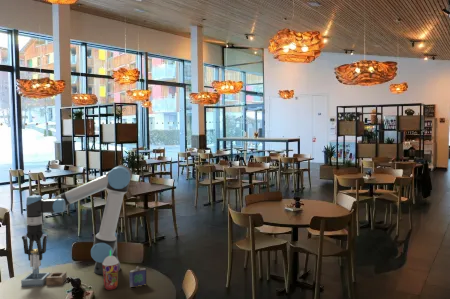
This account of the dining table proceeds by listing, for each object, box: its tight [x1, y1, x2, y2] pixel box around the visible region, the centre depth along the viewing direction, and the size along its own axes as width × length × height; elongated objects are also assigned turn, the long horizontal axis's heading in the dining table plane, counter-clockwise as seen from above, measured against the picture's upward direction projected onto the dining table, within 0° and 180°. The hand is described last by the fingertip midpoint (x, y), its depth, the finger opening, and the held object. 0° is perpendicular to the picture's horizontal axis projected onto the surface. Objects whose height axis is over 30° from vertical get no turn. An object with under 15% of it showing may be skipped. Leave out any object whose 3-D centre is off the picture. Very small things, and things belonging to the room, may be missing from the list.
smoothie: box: [102, 251, 120, 291], centre depth 204 cm, size 8×8×20 cm
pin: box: [30, 248, 40, 278], centre depth 212 cm, size 5×5×15 cm
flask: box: [128, 265, 147, 288], centre depth 206 cm, size 9×3×11 cm, turn 121°
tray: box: [20, 272, 51, 288], centre depth 212 cm, size 11×11×4 cm
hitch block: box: [45, 271, 67, 286], centre depth 213 cm, size 8×8×4 cm
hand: (35, 265), depth 212 cm, fingers closed on pin, 3 cm apart
